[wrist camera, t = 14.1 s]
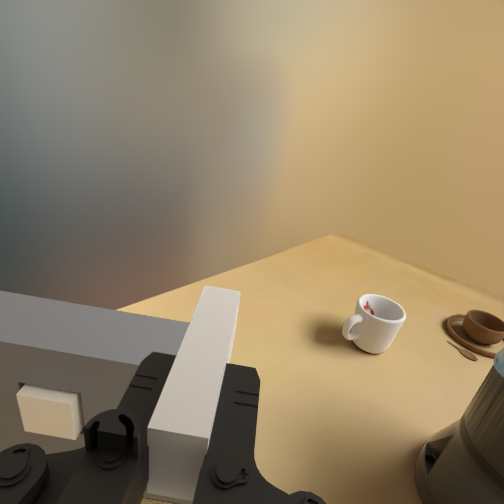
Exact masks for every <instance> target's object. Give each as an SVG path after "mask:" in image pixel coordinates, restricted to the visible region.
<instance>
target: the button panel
mask: <svg viewBox="0 0 504 504" xmlns="http://www.w3.org/2000/svg"><path fill="white" fill-rule="evenodd" d="M189 324H190V323H187V322H181V321H175V320H169V319H164V318H158V317H152V316H146V315H140V314H134V313H128V312H122V311H116V310H110V309H104V308H98V307H93V306H87V305H80V304H75V303H69V302H63V301H57V300H51V299H45V298H40V297H34V296H28V295H22V294H16V293H10V292H4V291H0V452H1V451H3V450H5V449H7V448H9V447H12V446H14V445H17V444H24V443H31V444H35V445H39V446H40V447H41V448H42V449H43V450H44V451H45V454H52V453H59V452H66V451H72V450H76V449H80V448H82V447H84V446H85V440H84V431H83V428H82V430H81V432H80V433H79V435H78V437H77V439H76V440H72V439H66V438H61V437H55V436H49V435H44V434H38V433H32V432H27V431H25V430H24V426H23V422H22V418H21V413H20V409H19V405H18V401H17V396H16V394H17V393H18V392H19V391H20V389H21V388H22V387H23V386H24V385H25V384H32V385H38V386H43V387H49V388H55V389H60V390H66V391H72V392H78V393H81V401H82V409H83V418H84V426H85V425H86V424H87V423H88V422H89V420H90V419H91V418H93V417H94V416H96V415H98V414H99V413H101V412H104V411H107V410H110V409H117V407H118V405H119V403H120V401H121V399H122V397H123V395H124V393H125V392H126V390H127V388H128V387H129V384H130V382H131V380H132V378H133V377H134V375H135V372H136V371H137V369H138V367H139V365H140V363H141V361H142V360H143V359H145V358H146V357H147V356H148V355H149V354H151V353H152V352H153V351H154V352H159V353H165V354H171V355H177V353H178V351H179V348H180V346H181V343H182V341H183V338H184V336H185V334H186V331H187V329H188V326H189ZM143 498H148V499H154V500H160V501H165V502H171V503H176V504H192V503H193V501H189V500H183V499H178V498H172V497H167V496H161V495H156V494H150V493H147V486H146V489H145V492H144V495H143Z"/></svg>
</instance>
